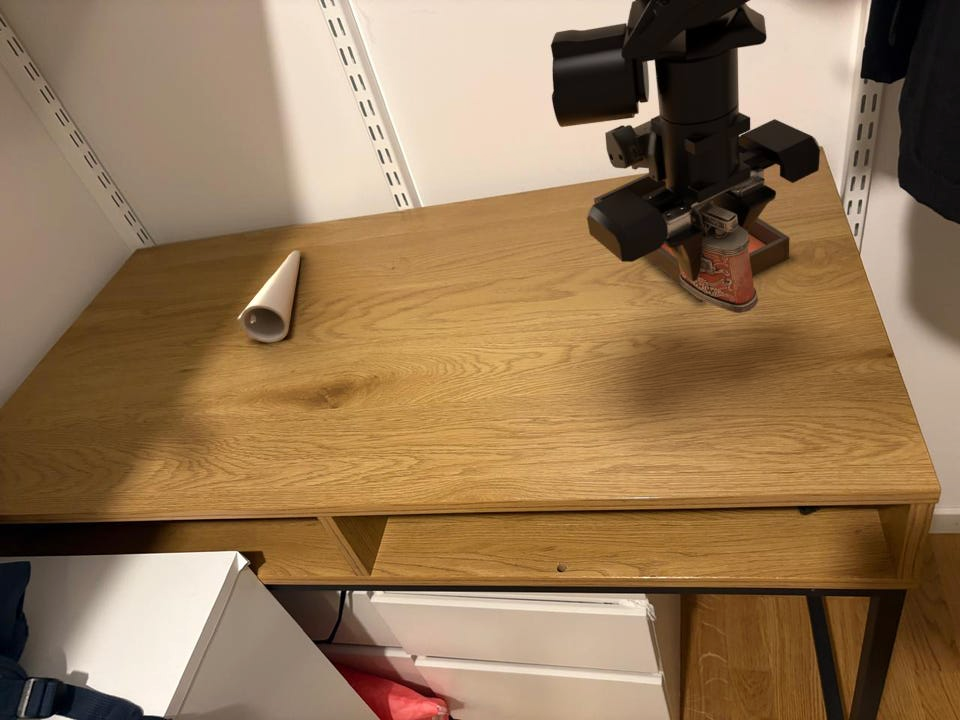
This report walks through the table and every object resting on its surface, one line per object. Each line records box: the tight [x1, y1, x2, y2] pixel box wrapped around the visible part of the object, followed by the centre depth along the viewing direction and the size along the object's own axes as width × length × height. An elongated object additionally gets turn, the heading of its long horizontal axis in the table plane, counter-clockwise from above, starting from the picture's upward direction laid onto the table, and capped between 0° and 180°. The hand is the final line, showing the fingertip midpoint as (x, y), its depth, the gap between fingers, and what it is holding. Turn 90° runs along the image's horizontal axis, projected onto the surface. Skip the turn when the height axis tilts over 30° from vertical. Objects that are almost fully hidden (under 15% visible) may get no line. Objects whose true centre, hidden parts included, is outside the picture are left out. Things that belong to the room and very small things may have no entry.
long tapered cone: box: [236, 249, 301, 344], centre depth 101 cm, size 6×6×19 cm
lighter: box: [679, 200, 759, 314], centre depth 64 cm, size 8×3×10 cm, turn 34°
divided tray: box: [593, 172, 791, 303], centre depth 89 cm, size 12×23×3 cm, turn 23°
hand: (707, 270), depth 66 cm, fingers closed on lighter, 3 cm apart
